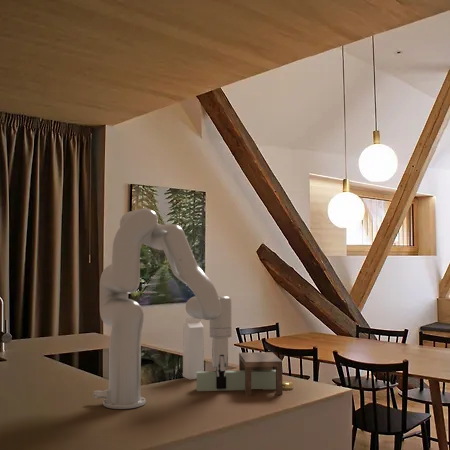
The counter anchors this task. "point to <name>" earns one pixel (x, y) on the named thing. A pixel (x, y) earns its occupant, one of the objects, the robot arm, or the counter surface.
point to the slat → (237, 380)
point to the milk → (193, 348)
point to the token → (287, 385)
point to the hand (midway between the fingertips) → (220, 386)
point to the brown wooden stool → (260, 367)
